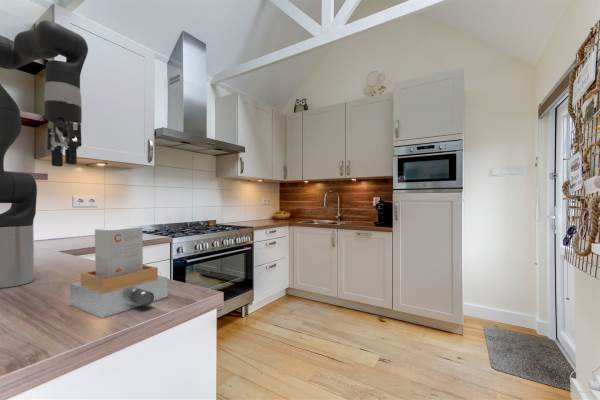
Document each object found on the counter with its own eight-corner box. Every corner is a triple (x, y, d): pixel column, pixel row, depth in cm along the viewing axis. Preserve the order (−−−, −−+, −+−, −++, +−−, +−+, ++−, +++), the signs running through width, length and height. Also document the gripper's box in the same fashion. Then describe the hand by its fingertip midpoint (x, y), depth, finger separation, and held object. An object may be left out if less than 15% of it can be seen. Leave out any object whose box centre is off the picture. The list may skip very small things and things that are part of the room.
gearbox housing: (70, 304, 67) (70, 273, 67) (134, 287, 80) (134, 261, 80) (111, 322, 57) (111, 285, 57) (177, 299, 70) (177, 269, 70)
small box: (127, 274, 75) (126, 225, 75) (143, 277, 72) (143, 226, 72) (94, 283, 67) (93, 228, 67) (111, 286, 65) (111, 229, 65)
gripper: (34, 104, 75) (35, 165, 75) (56, 94, 68) (57, 161, 68) (69, 112, 81) (69, 168, 81) (92, 103, 74) (93, 165, 74)
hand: (63, 165), depth 75 cm, fingers open, 8 cm apart
